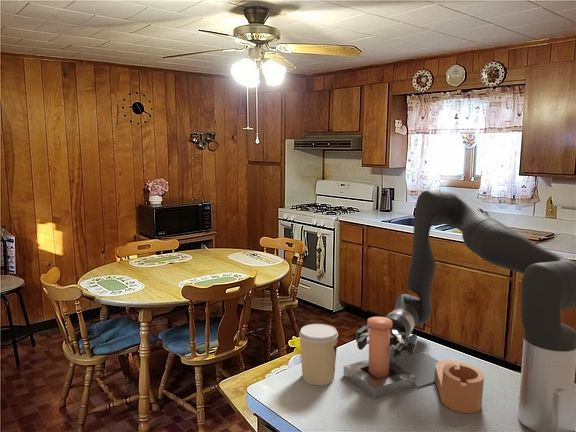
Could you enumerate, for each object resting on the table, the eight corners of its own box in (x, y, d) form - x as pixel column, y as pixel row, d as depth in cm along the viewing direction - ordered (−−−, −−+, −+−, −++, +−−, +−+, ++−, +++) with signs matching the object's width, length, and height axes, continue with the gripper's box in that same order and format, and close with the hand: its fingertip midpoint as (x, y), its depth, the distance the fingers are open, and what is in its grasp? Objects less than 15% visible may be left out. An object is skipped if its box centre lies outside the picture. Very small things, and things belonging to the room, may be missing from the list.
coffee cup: (344, 383, 108) (344, 334, 107) (307, 390, 105) (308, 340, 104) (327, 366, 117) (328, 321, 115) (293, 372, 114) (293, 326, 112)
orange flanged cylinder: (395, 383, 108) (397, 322, 106) (376, 389, 106) (377, 327, 103) (380, 373, 113) (381, 315, 111) (361, 378, 111) (362, 319, 109)
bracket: (485, 414, 95) (488, 384, 94) (444, 410, 96) (446, 380, 95) (467, 372, 113) (469, 345, 111) (432, 369, 114) (433, 343, 113)
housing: (414, 386, 107) (415, 376, 106) (373, 398, 101) (373, 388, 101) (382, 365, 117) (382, 355, 117) (343, 375, 112) (343, 365, 112)
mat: (461, 374, 112) (461, 373, 112) (417, 388, 106) (418, 386, 106) (421, 352, 124) (421, 351, 124) (380, 363, 118) (380, 362, 118)
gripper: (371, 308, 124) (348, 328, 110) (424, 317, 117) (407, 340, 103) (370, 335, 125) (348, 358, 111) (423, 345, 118) (406, 371, 104)
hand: (377, 349), depth 107 cm, fingers open, 8 cm apart
